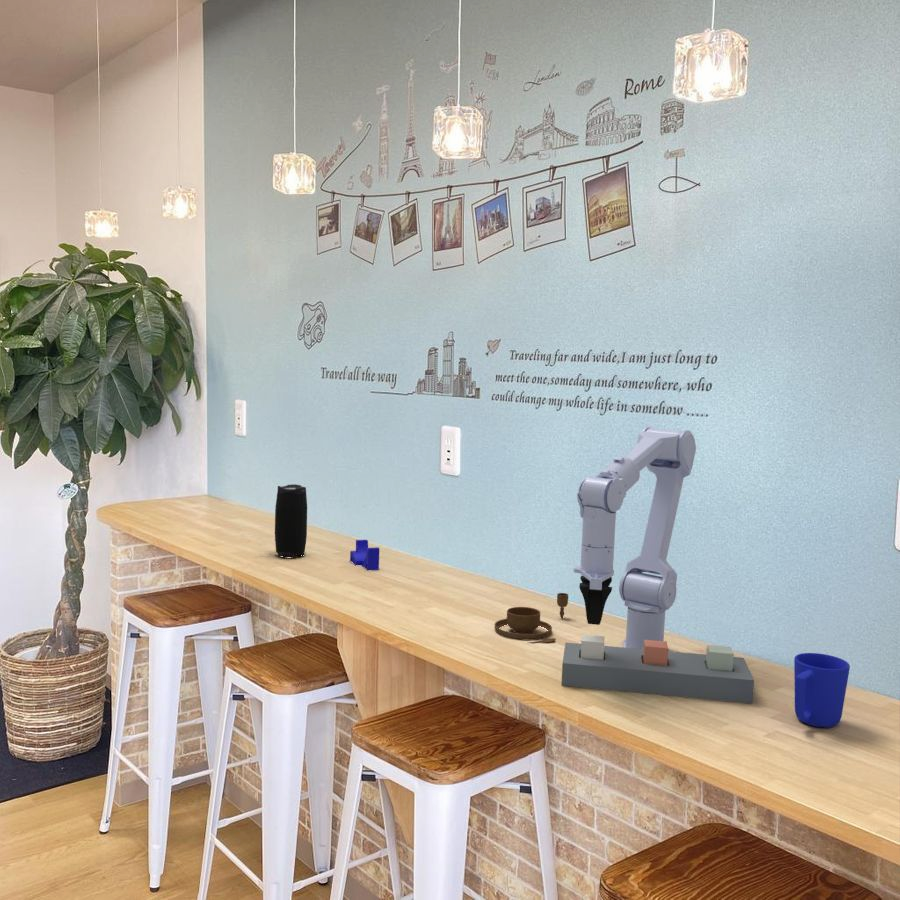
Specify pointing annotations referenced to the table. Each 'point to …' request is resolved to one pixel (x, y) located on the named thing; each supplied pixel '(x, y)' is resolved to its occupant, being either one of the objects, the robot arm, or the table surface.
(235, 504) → the table surface
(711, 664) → the sage button
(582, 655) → the white cube
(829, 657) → the mug
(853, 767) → the table surface
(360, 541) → the blue blocky piece
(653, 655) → the terracotta button
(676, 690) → the button panel
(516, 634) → the place setting
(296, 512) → the portable speaker
